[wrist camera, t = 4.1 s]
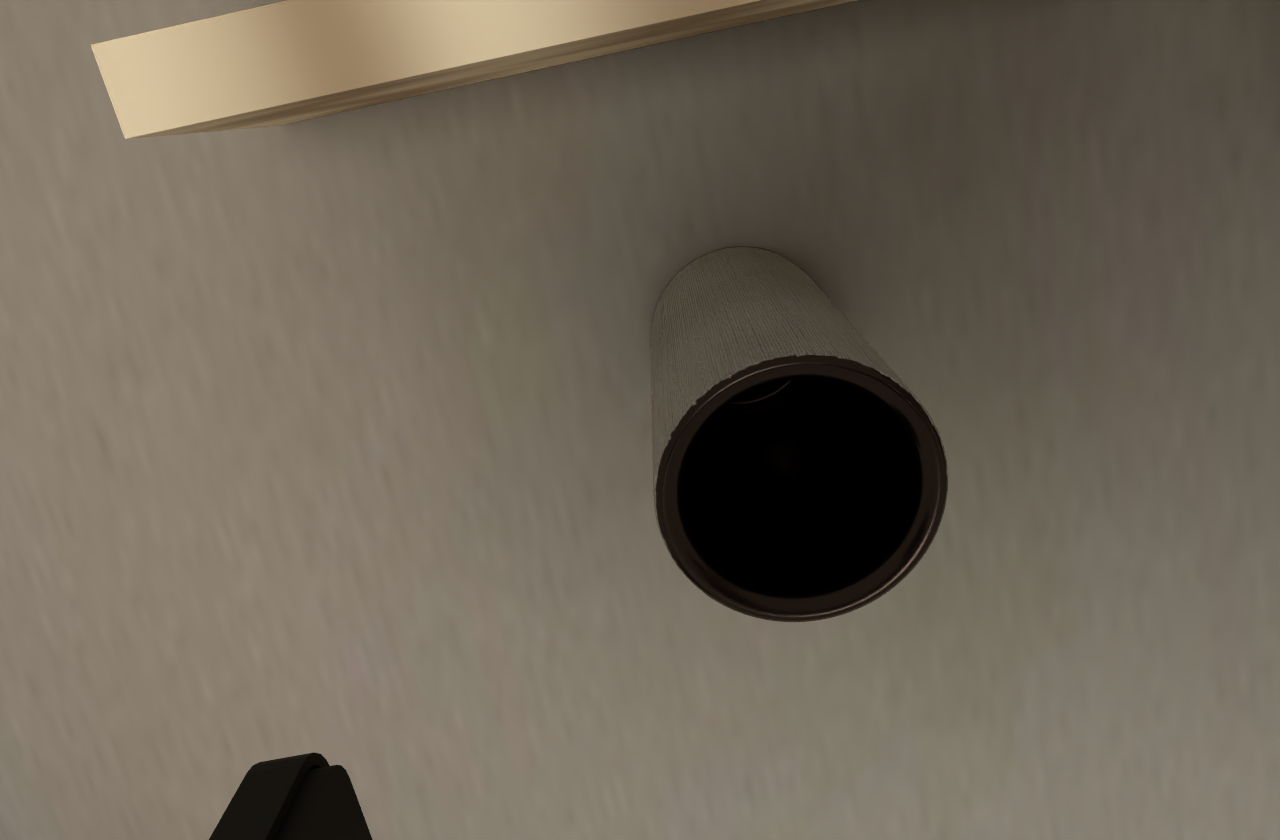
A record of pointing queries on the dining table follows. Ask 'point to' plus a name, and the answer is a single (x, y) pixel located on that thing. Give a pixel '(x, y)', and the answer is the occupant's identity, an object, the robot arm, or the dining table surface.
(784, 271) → the grey upright cylinder
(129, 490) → the dining table surface
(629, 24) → the birch plank
